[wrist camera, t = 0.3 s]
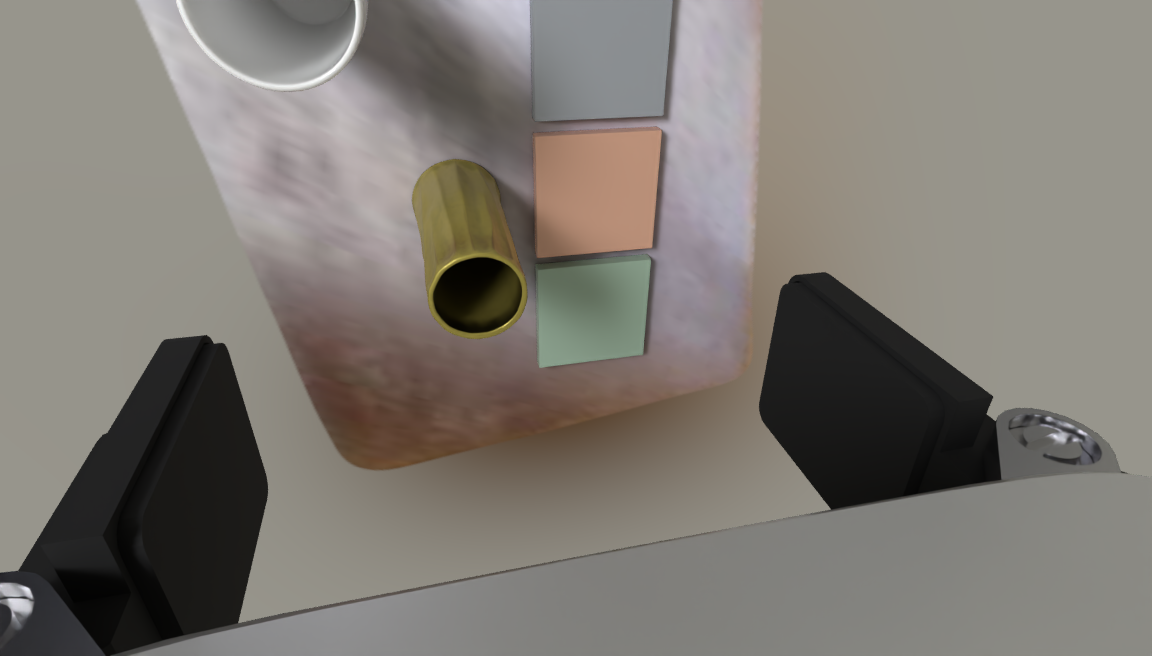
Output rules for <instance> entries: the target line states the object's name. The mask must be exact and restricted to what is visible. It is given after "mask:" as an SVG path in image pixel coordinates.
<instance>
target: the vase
mask: <svg viewBox="0 0 1152 656" xmlns="http://www.w3.org/2000/svg"><path fill="white" fill-rule="evenodd" d="M412 204H413V209H414V213H415V216H416V220H417V223H418V228H419V232H420V237H421V243H422V254H423V259H424V265H425V282H426V291H427V296H428V304H429V309H430V311H431V314H432V316H433V317H434V319H435V320H436V321H437V322H438V323H439V324H440V325H441V326H442V327H443V328H444V329H445V330H446V331H448V332H450V333H452V334H454V335H457V336H460V337H464V338H468V339H482V338H488V337H492V336H495V335H498V334H500V333H502V332H504V331H505V330H507V329H508V328H510V327H511V326H512V325H513V324H514V323H515V322H516V321H517V320H518V319H519V318H520V317H521V315H522V313H523V311H524V309H525V306H526V303H527V283H526V279H525V275H524V273H523V270H522V268H521V265H520V262H519V260H518V256H517V253H516V249H515V246H514V243H513V240H512V237H511V234H510V231H509V228H508V225H507V222H506V218H505V214H504V211H503V209H502V206H501V198H500V192H499V189H498V186H497V184H496V182H495V180H494V179H493V177H492V176H491V175H490V174H489V173H488V172H487V171H486V170H485V169H484V168H482V167H481V166H479V165H477V164H475V163H473V162H470V161H466V160H459V159H452V160H447V161H443V162H440V163H437V164H435V165H433V166H431V167H430V168H429V169H427V170H426V171H425V172H424V173H423V174H422V175H421V176H420V178H419V179H418V181H417V183H416V185H415V188H414V191H413V195H412Z"/></svg>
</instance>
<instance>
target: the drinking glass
mask: <svg viewBox="0 0 1152 656" xmlns="http://www.w3.org/2000/svg"><path fill="white" fill-rule="evenodd" d="M176 3H177V6H178V9H179V12H180V14H181V17H182V19H183V21H184V23H185V25H186V27H187V29H188V30H189V32H190V34H191V35H192V37H193V38H194V40H195V41H196V42H197V44H198V45H199V46H200V48H201V49H202V50H203V51H204V52H205V53H206V54H207V55H208V56H209V57H210V58H211V59H212V60H213V61H214V62H215V63H216V64H217V65H219V66H220V67H221V68H222V69H224V70H225V71H227V72H228V73H230V74H231V75H233V76H235V77H236V78H238V79H240V80H242V81H244V82H246V83H248V84H251V85H254V86H256V87H260V88H263V89H267V90H273V91H281V92H294V91H303V90H307V89H311V88H314V87H317V86H319V85H322V84H324V83H326V82H327V81H329V80H331V79H332V78H333V77H335V76H336V75H337V74H339V73H340V72H341V71H342V70H343V69H344V68H345V66H346V65H347V64H348V63H349V61H350V60H351V58H352V57H353V55H354V54H355V52H356V50H357V48H358V46H359V45H360V42H361V40H362V37H363V35H364V31H365V28H366V23H367V17H368V0H176Z"/></svg>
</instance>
